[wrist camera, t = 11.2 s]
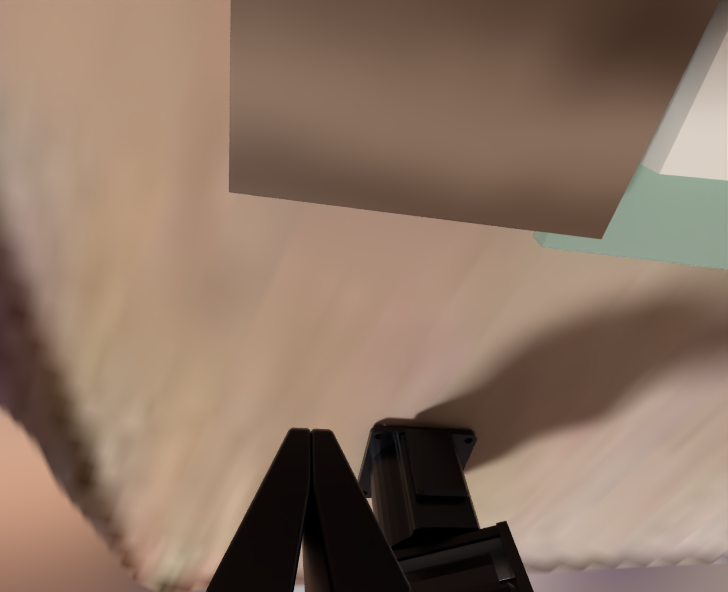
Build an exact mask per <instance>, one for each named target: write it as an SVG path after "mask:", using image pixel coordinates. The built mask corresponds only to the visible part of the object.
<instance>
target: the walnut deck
mask: <svg viewBox="0 0 728 592" xmlns="http://www.w3.org/2000/svg"><path fill="white" fill-rule="evenodd" d="M719 1H720V0H231V32H230V146H229V192H231V193H239V194H247V195H255V196H263V197H271V198H279V199H287V200H295V201H302V202H310V203H318V204H326V205H334V206H342V207H350V208H358V209H365V210H373V211H381V212H389V213H397V214H405V215H413V216H421V217H428V218H436V219H444V220H452V221H460V222H468V223H476V224H484V225H491V226H499V227H507V228H515V229H523V230H531V231H539V232H547V233H554V234H562V235H570V236H578V237H586V238H594V239H602V237H603V235H604V233H605V231H606V229H607V227H608V225H609V223H610V221H611V219H612V217H613V215H614V213H615V211H616V209H617V207H618V205H619V203H620V201H621V199H622V197H623V195H624V193H625V191H626V189H627V187H628V185H629V183H630V181H631V179H632V177H633V175H634V173H635V171H636V169H637V167H638V165H639V163H640V161H641V159H642V157H643V155H644V153H645V151H646V149H647V147H648V144H649V142H650V140H651V138H652V136H653V134H654V132H655V130H656V128H657V126H658V124H659V122H660V120H661V118H662V116H663V114H664V112H665V110H666V108H667V106H668V104H669V102H670V100H671V98H672V96H673V94H674V92H675V90H676V88H677V86H678V84H679V82H680V80H681V78H682V76H683V74H684V72H685V70H686V68H687V66H688V64H689V62H690V60H691V58H692V56H693V54H694V52H695V50H696V48H697V45H698V43H699V41H700V39H701V37H702V35H703V33H704V31H705V29H706V27H707V25H708V23H709V21H710V19H711V17H712V15H713V13H714V11H715V9H716V7H717V5H718V3H719Z"/></svg>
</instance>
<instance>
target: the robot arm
mask: <svg viewBox="0 0 728 592" xmlns="http://www.w3.org/2000/svg"><path fill="white" fill-rule="evenodd" d="M476 440H477V438H476V436H475V433H474V431H472V430H462V429H442V428H422V427H402V426H382V425H379V426H375V427H373V428H372V429H371V430H370V434H369V438H368V442H367V446H366V449H365V453H364V457H363V461H362V465H361V469H360V473H359V477H358V481H357V479H356V477H355V475H354V473H353V471H352V469H351V467H350V465H349V463H348V461H347V459H346V457H345V455H344V453H343V451H342V449H341V447H340V445H339V443H338V441H337V439H336V437H335V435H334V433H333V432H332V431H331V430H329V429H313V430H312V431H310V430H309V429H308V428H291V429H290V430H289V431H288V433H287V435H286V437H285V439H284V441H283V443H282V444H281V446H280V448H279V450H278V452H277V454H276V456H275V458H274V460H273V462H272V464H271V466H270V468H269V470H268V472H267V474H266V475H265V477H264V479H263V481H262V483H261V485H260V487H259V489H258V491H257V493H256V495H255V497H254V499H253V501H252V503H251V504H250V506H249V508H248V510H247V512H246V514H245V516H244V518H243V520H242V522H241V524H240V526H239V528H238V530H237V532H236V534H235V535H234V537H233V539H232V541H231V543H230V545H229V547H228V549H227V551H226V553H225V555H224V557H223V559H222V561H221V563H220V565H219V566H218V568H217V570H216V572H215V574H214V576H213V578H212V580H211V582H210V584H209V586H208V588H207V590H206V592H293V591H294V585H295V580H296V574H297V568H298V562H299V556H300V550H301V544H302V549H303V569H304V585H305V592H534V591H533V589H532V586H531V584H530V581H529V578H528V576H527V573H526V571H525V568H524V565H523V563H522V560H521V558H520V555H519V553H518V550H517V547H516V545H515V542H514V540H513V537H512V535H511V532H510V529H509V527H508V524H507V522H506V521H503V522H499V523H496V525H495V526H491V527H487V528H483V529H480V525H479V522H478V519H477V516H476V512H475V509H474V506H473V502H472V499H471V496H470V493H469V489H468V486H467V483H466V479H465V476H464V473H463V470H464V467H465V465H466V463H467V461H468V459H469V456H470V454H471V452H472V450H473V447H474V445H475V443H476ZM366 498H372V506H373V511H372V509H371V507H370V505H369V503H368V501H367V499H366ZM507 578H509V579H507ZM503 579H505V580H503ZM499 580H501V581H499Z"/></svg>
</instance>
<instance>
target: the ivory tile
mask: <svg viewBox="0 0 728 592" xmlns="http://www.w3.org/2000/svg"><path fill="white" fill-rule="evenodd" d="M639 164H641V165H643V166H645V167H647V168H649V169H651V170H653V171H655V172H657V173H659V174H665V175H675V176H685V177H696V178H706V179H716V180H727V181H728V0H720V1H719V3H718V5H717V7H716V9H715V11H714V13H713V15H712V17H711V19H710V21H709V23H708V25H707V27H706V29H705V31H704V33H703V35H702V37H701V39H700V41H699V43H698V45H697V48H696V50H695V52H694V54H693V56H692V58H691V60H690V62H689V64H688V66H687V68H686V70H685V72H684V74H683V76H682V78H681V80H680V82H679V84H678V86H677V88H676V90H675V92H674V94H673V96H672V98H671V100H670V102H669V104H668V106H667V108H666V110H665V112H664V114H663V116H662V118H661V120H660V122H659V124H658V126H657V128H656V130H655V132H654V134H653V136H652V138H651V140H650V142H649V144H648V147H647V149H646V151H645V153H644V155H643V157H642V159H641V161H640V163H639Z"/></svg>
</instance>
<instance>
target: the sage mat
mask: <svg viewBox="0 0 728 592" xmlns="http://www.w3.org/2000/svg"><path fill="white" fill-rule="evenodd" d="M533 238H534V239H535V240H536V241H537V242H538V243H539V244H540V245H541V247H544V248H553V249H561V250H569V251H577V252H586V253H594V254H602V255H610V256H619V257H627V258H635V259H643V260H652V261H660V262H668V263H676V264H685V265H693V266H701V267H709V268H718V269H726V270H728V181H727V180H716V179H706V178H696V177H685V176H675V175H665V174H659V173H657V172H655V171H653V170H651V169H649V168H647V167H645V166H643V165H641V164H639V165H638V167H637V169H636V171H635V173H634V175H633V177H632V179H631V181H630V183H629V185H628V187H627V189H626V191H625V193H624V195H623V197H622V199H621V201H620V203H619V205H618V207H617V209H616V211H615V213H614V215H613V217H612V219H611V221H610V223H609V225H608V227H607V229H606V231H605V233H604V235H603V237H602V239H594V238H586V237H578V236H570V235H562V234H554V233H547V232H539V231H535V234H534V236H533Z"/></svg>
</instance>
